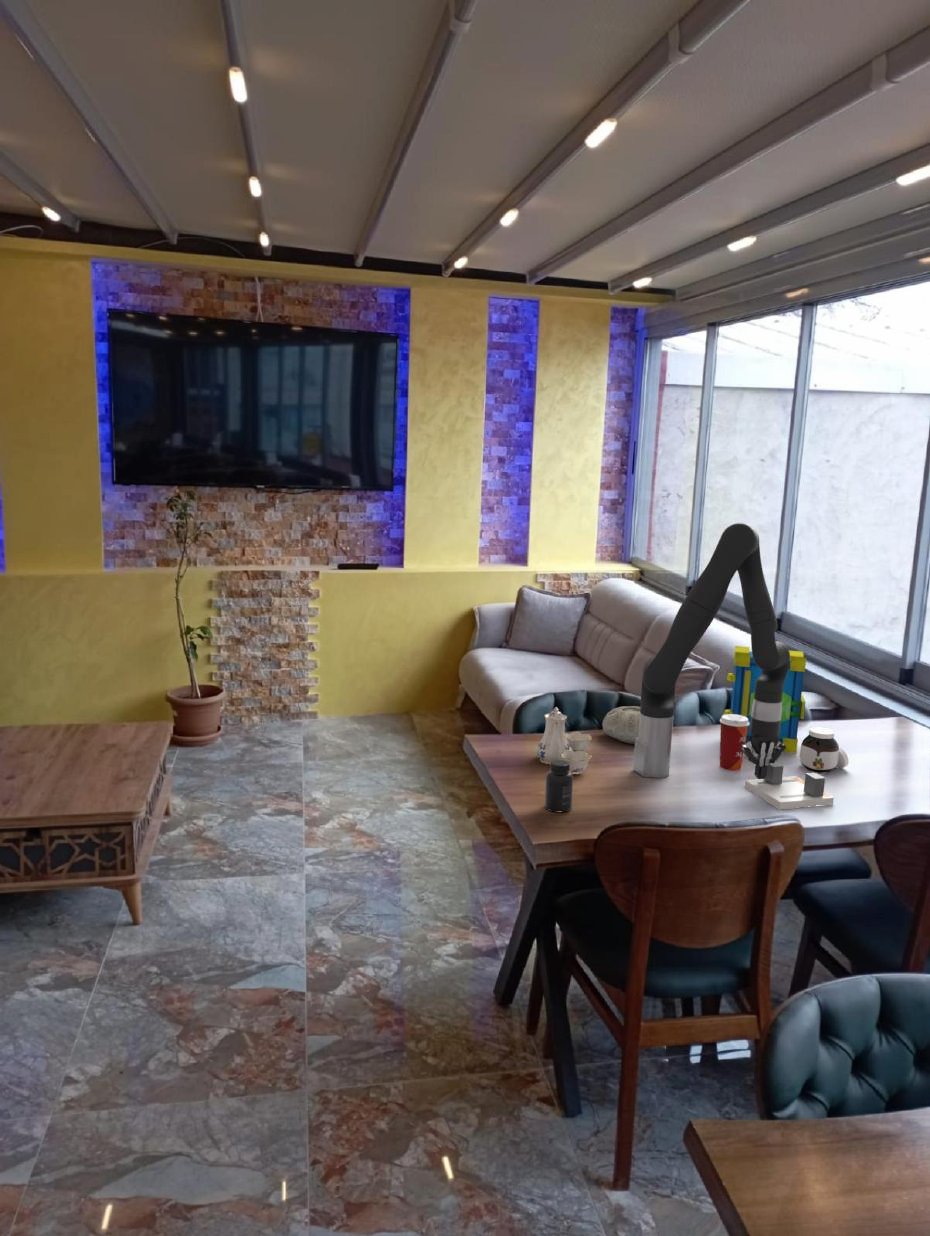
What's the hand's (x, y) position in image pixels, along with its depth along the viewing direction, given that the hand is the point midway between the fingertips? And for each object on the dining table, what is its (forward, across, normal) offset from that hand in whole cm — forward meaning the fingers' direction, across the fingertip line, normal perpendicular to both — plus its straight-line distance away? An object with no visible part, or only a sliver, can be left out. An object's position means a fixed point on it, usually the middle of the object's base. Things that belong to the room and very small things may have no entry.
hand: (760, 778), depth 239 cm
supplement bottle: (+4, -58, -1) cm, 59 cm away
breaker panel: (+4, +6, -5) cm, 8 cm away
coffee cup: (+4, +2, +18) cm, 19 cm away
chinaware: (+4, -44, +31) cm, 54 cm away
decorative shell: (+4, -16, +47) cm, 50 cm away
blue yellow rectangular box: (+4, +23, +35) cm, 42 cm away
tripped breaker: (+1, +4, 0) cm, 4 cm away
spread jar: (+4, +29, +12) cm, 32 cm away
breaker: (+1, +10, -10) cm, 14 cm away
